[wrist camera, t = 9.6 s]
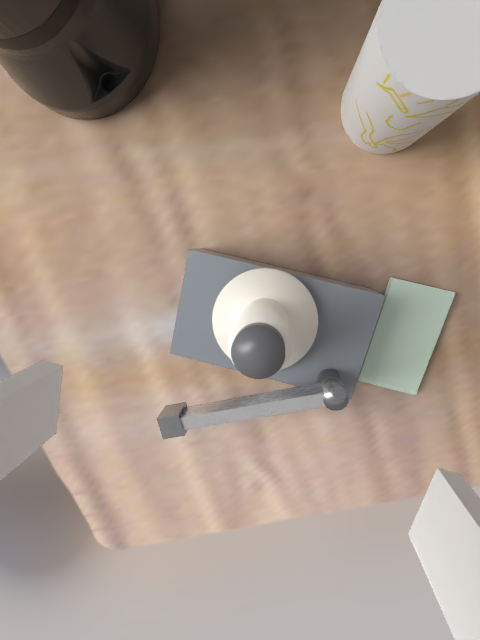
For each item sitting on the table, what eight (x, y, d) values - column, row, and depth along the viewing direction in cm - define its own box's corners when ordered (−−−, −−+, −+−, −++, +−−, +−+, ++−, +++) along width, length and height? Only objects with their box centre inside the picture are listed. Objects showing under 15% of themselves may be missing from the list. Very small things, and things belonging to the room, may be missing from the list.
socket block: (201, 248, 34) (188, 249, 30) (370, 288, 33) (385, 295, 28) (184, 338, 37) (170, 353, 32) (341, 378, 36) (350, 399, 31)
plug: (233, 255, 34) (200, 263, 20) (322, 276, 33) (353, 299, 19) (214, 339, 36) (174, 400, 22) (298, 361, 35) (310, 436, 22)
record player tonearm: (171, 397, 33) (156, 418, 29) (337, 367, 30) (346, 385, 26) (176, 416, 33) (163, 439, 29) (341, 387, 31) (351, 408, 27)
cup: (335, 153, 31) (368, 98, 19) (346, 51, 29) (391, -76, 17) (427, 155, 30) (519, 101, 19) (444, 51, 28) (559, -82, 17)
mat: (390, 277, 33) (392, 277, 32) (451, 291, 32) (455, 292, 32) (356, 377, 36) (358, 380, 35) (412, 392, 35) (415, 395, 34)
